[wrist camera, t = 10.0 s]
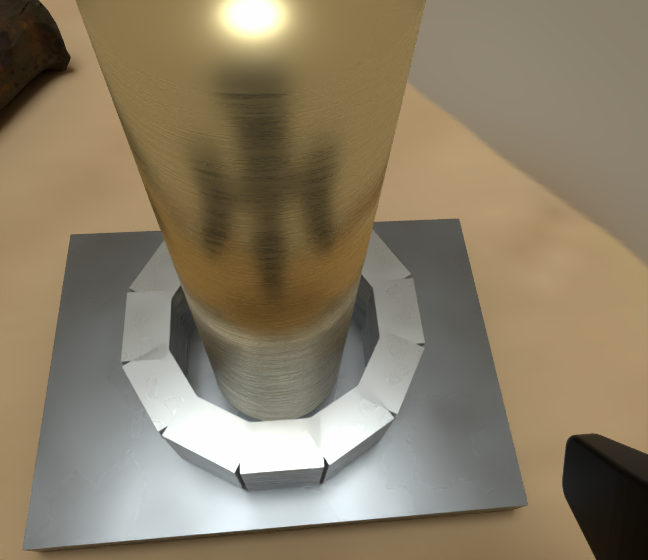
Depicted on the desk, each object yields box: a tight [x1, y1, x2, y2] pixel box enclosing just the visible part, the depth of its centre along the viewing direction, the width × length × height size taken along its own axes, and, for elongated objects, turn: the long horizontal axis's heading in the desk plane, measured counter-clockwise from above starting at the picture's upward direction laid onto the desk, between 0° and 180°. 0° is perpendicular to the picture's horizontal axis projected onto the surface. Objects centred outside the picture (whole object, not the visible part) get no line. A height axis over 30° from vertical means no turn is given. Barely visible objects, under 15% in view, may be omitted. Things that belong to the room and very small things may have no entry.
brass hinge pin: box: [76, 0, 426, 421], centre depth 12 cm, size 4×4×13 cm
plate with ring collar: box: [22, 219, 528, 552], centre depth 17 cm, size 10×14×4 cm
